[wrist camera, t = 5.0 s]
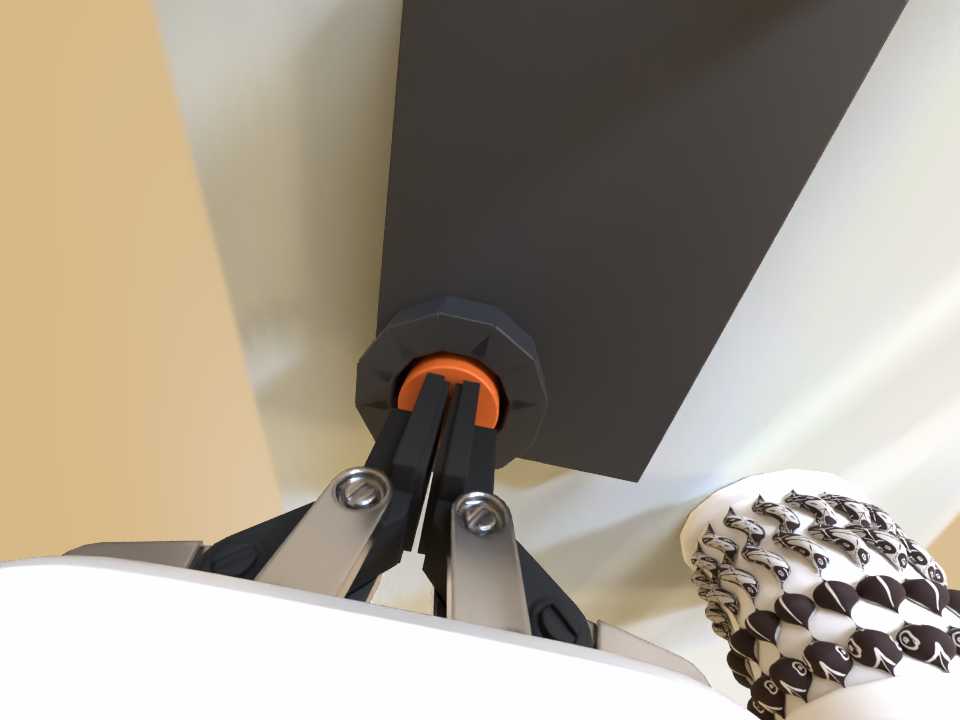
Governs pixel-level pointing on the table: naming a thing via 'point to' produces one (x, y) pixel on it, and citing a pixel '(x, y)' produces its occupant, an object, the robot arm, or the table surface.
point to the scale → (596, 198)
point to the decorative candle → (824, 602)
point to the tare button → (455, 372)
